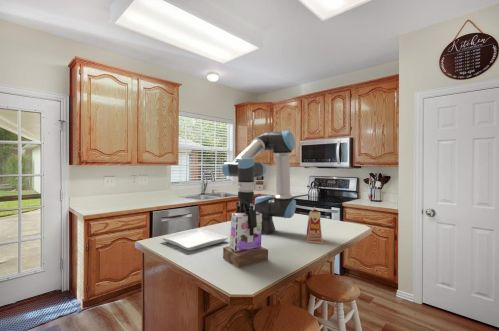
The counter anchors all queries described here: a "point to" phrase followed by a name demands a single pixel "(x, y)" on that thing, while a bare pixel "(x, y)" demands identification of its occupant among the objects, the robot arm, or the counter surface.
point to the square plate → (194, 239)
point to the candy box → (244, 232)
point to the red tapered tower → (314, 227)
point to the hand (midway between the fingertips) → (245, 239)
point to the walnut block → (245, 256)
